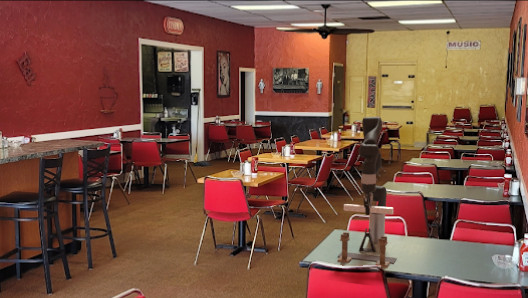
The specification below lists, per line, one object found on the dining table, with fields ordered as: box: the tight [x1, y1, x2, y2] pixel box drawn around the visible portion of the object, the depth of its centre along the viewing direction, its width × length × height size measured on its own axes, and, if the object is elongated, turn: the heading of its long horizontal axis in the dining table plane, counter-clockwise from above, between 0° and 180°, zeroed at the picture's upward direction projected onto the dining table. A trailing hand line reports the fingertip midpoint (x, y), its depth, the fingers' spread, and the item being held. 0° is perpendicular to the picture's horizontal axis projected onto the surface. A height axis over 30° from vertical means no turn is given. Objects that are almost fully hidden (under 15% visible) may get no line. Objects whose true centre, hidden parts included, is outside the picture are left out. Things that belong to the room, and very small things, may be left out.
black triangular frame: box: [358, 228, 376, 253], centre depth 320 cm, size 9×6×12 cm, turn 77°
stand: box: [337, 231, 390, 269], centre depth 297 cm, size 6×26×15 cm, turn 68°
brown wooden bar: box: [343, 203, 394, 215], centre depth 303 cm, size 3×26×3 cm, turn 68°
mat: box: [337, 251, 397, 265], centre depth 306 cm, size 9×30×1 cm, turn 68°
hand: (368, 213), depth 303 cm, fingers closed on brown wooden bar, 3 cm apart
